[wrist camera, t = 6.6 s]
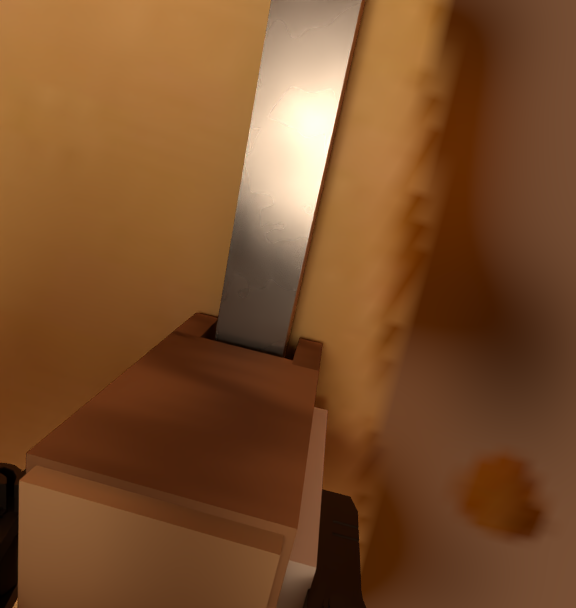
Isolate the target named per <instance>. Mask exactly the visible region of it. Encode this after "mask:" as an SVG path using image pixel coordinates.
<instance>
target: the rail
mask: <svg viewBox="0 0 576 608" xmlns="http://www.w3.org/2000/svg"><path fill="white" fill-rule="evenodd" d="M365 1H366V0H271V5H270V11H269V17H268V23H267V29H266V35H265V41H264V47H263V53H262V59H261V65H260V71H259V77H258V83H257V89H256V95H255V101H254V107H253V113H252V119H251V125H250V131H249V137H248V143H247V149H246V155H245V161H244V167H243V173H242V179H241V184H240V190H239V196H238V202H237V208H236V214H235V220H234V226H233V232H232V238H231V244H230V250H229V256H228V262H227V268H226V274H225V280H224V286H223V292H222V298H221V304H220V310H219V316H218V322H217V328H216V334H215V340H214V341H218V342H221V343H225V344H229V345H233V346H237V347H241V348H245V349H249V350H253V351H257V352H261V353H265V354H269V355H273V356H277V357H281V358H285V354H286V350H287V345H288V341H289V337H290V332H291V328H292V323H293V319H294V315H295V310H296V306H297V301H298V297H299V293H300V288H301V284H302V279H303V275H304V270H305V266H306V262H307V257H308V253H309V248H310V244H311V240H312V235H313V231H314V226H315V222H316V217H317V213H318V209H319V204H320V200H321V195H322V191H323V187H324V182H325V178H326V173H327V169H328V164H329V160H330V156H331V151H332V147H333V142H334V138H335V134H336V129H337V125H338V120H339V116H340V111H341V107H342V103H343V98H344V94H345V89H346V85H347V81H348V76H349V72H350V67H351V63H352V58H353V54H354V50H355V45H356V41H357V36H358V32H359V28H360V23H361V19H362V14H363V10H364V5H365Z"/></svg>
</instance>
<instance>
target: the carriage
mask: <svg viewBox="0 0 576 608" xmlns="http://www.w3.org/2000/svg"><path fill="white" fill-rule="evenodd" d="M217 322H218V318H216V317H212V316H208V315H204V314H200V313H195V314H194V315H193V316H192V317H191V318H189V319H188V320H187V321H186V322H185V323H183V324H182V325H181V326H180V327H178V328H177V329H176V330H175V331H174V332H172V333H171V334H170V335H169V336H168V337H166V338H165V339H164V340H163V341H161V342H160V343H159V344H158V345H157V346H155V347H154V348H153V349H152V350H151V351H149V352H148V353H147V354H146V355H145V356H143V357H142V358H141V359H140V360H138V361H137V362H136V363H135V364H134V365H132V366H131V367H130V368H129V369H128V370H126V371H125V372H124V373H123V374H121V375H120V376H119V377H118V378H117V379H115V380H114V381H113V382H112V383H111V384H109V385H108V386H107V387H106V388H105V389H103V390H102V391H101V392H100V393H98V394H97V395H96V396H95V397H94V398H92V399H91V400H90V401H89V402H88V403H86V404H85V405H84V406H83V407H81V408H80V409H79V410H78V411H77V412H75V413H74V414H73V415H72V416H71V417H69V418H68V419H67V420H66V421H65V422H63V423H62V424H61V425H60V426H58V427H57V428H56V429H55V430H54V431H52V432H51V433H50V434H49V435H48V436H46V437H45V438H44V439H43V440H41V441H40V442H39V443H38V444H37V445H35V446H34V447H33V448H32V449H31V450H29V451H28V452H27V453H26V475H25V476H24V477H22V478H21V479H20V480H19V533H18V608H276V606H277V602H278V599H279V595H280V591H281V588H282V584H283V580H284V577H285V573H286V570H287V566H288V562H289V559H290V555H291V551H292V548H293V544H294V540H295V537H296V533H297V530H298V522H299V515H300V508H301V500H302V493H303V486H304V478H305V471H306V463H307V456H308V449H309V441H310V434H311V427H312V419H313V412H314V404H315V397H316V390H317V382H318V375H319V368H320V360H321V353H322V345H323V344H321V343H317V342H313V341H309V340H305V339H301V338H299V342H298V345H297V348H296V352H295V355H294V358H293V360H289V359H285V358H281V357H277V356H273V355H269V354H265V353H261V352H257V351H253V350H249V349H245V348H241V347H237V346H233V345H229V344H225V343H221V342H218V341H214V340H215V334H216V328H217Z"/></svg>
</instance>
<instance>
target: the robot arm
mask: <svg viewBox="0 0 576 608" xmlns="http://www.w3.org/2000/svg"><path fill="white" fill-rule="evenodd" d="M327 412H328V410H325V409H321V408H317V407H314V412H313V419H312V427H311V434H310V441H309V449H308V456H307V463H306V471H305V478H304V486H303V493H302V500H301V508H300V515H299V522H298V530H297V533H296V537H295V540H294V544H293V548H292V551H291V555H290V559H289V562H288V566H287V570H286V573H285V577H284V580H283V584H282V588H281V591H280V595H279V599H278V602H277V606H276V608H366V606H365V604H364V601H363V598H362V592H361V574H360V551H359V530H358V511H357V509H356V507H355V505H354V503H353V501H352V499H351V497H349V496H345V495H341V494H338V493H334V492H330V491H326V490H323V489H322V482H323V468H324V454H325V440H326V426H327ZM25 475H26V469H25V470H24V471H23V472H22V471H21V470H20V469H19V468H18V467H16V466H15V465H12V464H7V463H0V608H13V606H14V604H15V602H16V600H17V598H18V533H19V480H20V479H21V478H22V477H24V476H25Z"/></svg>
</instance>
